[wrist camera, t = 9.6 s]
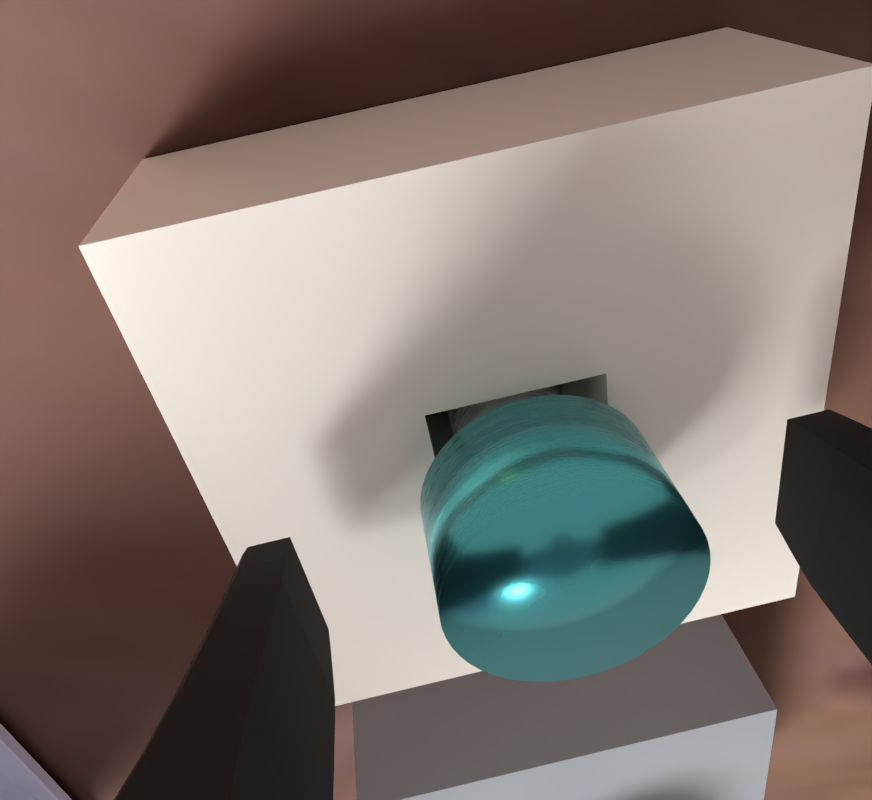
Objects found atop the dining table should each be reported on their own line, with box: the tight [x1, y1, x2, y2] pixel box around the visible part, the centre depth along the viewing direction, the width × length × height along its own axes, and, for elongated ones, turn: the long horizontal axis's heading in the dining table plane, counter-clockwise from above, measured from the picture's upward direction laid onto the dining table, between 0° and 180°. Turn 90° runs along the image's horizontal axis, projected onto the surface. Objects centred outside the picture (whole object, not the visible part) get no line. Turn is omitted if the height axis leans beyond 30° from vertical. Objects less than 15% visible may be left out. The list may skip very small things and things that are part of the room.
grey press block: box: [352, 614, 777, 800], centre depth 21 cm, size 10×10×4 cm
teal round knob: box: [420, 385, 711, 682], centre depth 12 cm, size 4×4×6 cm
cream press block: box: [79, 27, 872, 706], centre depth 13 cm, size 10×10×4 cm
